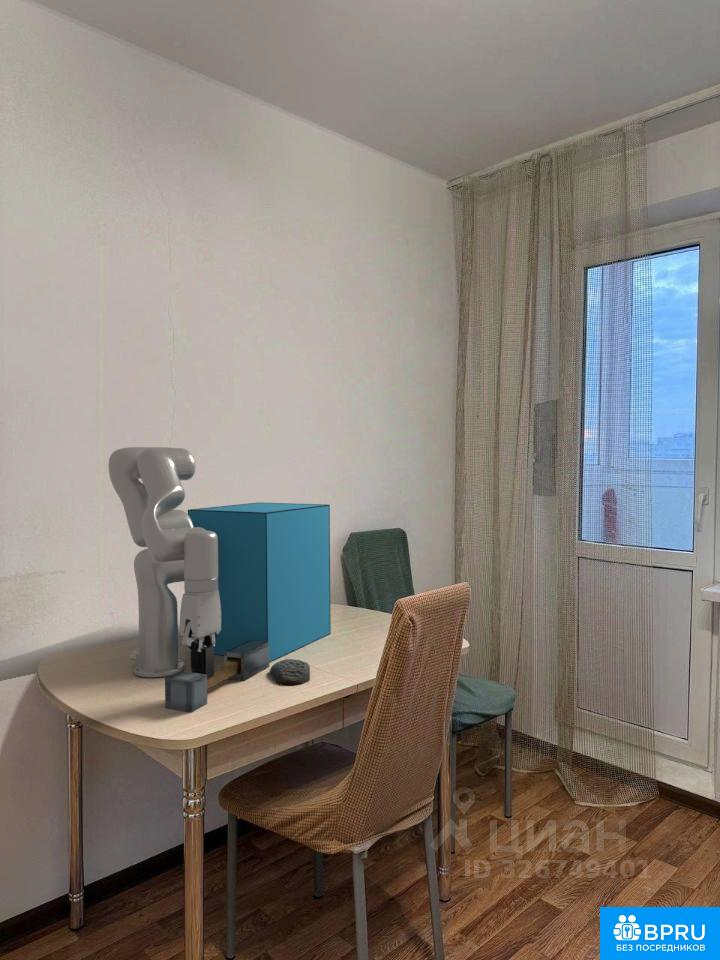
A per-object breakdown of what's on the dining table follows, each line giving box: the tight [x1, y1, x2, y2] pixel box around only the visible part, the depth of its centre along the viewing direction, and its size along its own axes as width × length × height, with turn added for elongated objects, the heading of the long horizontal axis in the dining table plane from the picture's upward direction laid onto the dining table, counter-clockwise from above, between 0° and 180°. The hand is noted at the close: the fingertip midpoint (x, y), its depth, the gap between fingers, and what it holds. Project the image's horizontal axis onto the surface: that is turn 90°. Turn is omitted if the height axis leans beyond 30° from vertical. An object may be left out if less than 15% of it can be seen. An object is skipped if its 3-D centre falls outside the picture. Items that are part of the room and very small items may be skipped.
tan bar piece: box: [190, 644, 241, 690], centre depth 156 cm, size 4×22×9 cm, turn 157°
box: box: [187, 502, 332, 664], centre depth 197 cm, size 27×33×40 cm
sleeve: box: [223, 640, 270, 682], centre depth 170 cm, size 6×12×6 cm, turn 157°
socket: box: [164, 670, 208, 713], centre depth 147 cm, size 7×6×6 cm
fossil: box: [269, 658, 311, 687], centre depth 166 cm, size 10×13×4 cm
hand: (202, 665), depth 152 cm, fingers closed on tan bar piece, 3 cm apart
